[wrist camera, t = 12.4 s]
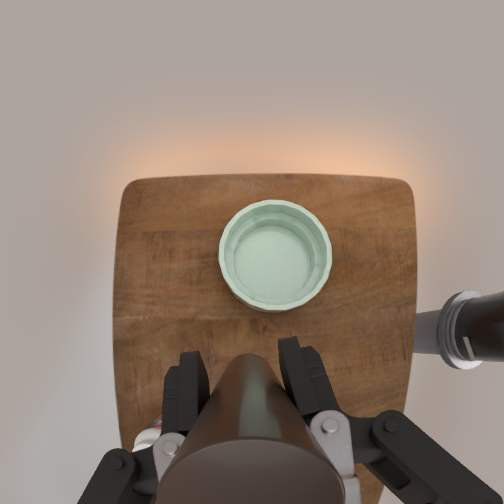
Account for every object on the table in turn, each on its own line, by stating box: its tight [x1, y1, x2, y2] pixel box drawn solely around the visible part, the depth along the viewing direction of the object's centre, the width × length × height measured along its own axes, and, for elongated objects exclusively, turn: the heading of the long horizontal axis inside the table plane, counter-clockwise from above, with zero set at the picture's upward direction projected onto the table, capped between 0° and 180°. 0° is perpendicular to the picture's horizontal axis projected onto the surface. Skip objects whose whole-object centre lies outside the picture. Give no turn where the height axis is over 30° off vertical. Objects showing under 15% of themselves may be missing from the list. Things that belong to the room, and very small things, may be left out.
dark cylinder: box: [156, 354, 346, 504], centre depth 11 cm, size 3×3×16 cm
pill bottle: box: [132, 415, 162, 452], centre depth 26 cm, size 5×5×10 cm
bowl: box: [219, 200, 332, 313], centre depth 34 cm, size 12×12×6 cm
